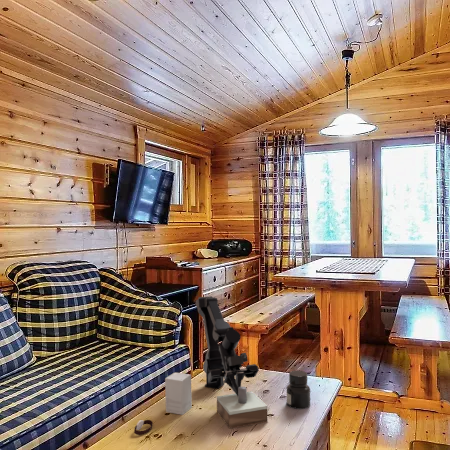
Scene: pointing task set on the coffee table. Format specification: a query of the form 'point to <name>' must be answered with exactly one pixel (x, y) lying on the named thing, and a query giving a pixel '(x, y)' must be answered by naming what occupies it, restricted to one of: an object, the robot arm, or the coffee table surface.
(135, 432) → the watch
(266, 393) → the coffee table surface
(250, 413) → the walnut box
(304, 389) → the ink bottle
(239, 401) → the box lid
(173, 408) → the supplement box
